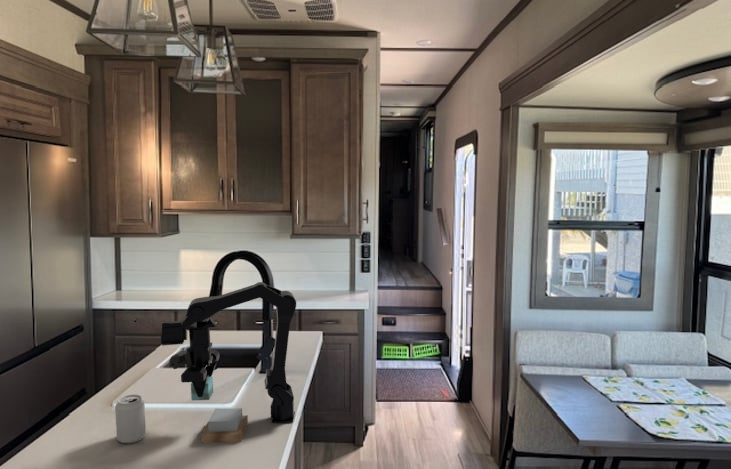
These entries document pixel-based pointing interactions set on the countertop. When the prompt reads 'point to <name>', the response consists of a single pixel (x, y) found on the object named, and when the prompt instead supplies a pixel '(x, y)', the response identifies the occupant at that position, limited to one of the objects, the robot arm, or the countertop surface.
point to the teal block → (207, 391)
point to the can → (130, 419)
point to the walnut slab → (225, 434)
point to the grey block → (225, 420)
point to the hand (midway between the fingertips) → (202, 393)
